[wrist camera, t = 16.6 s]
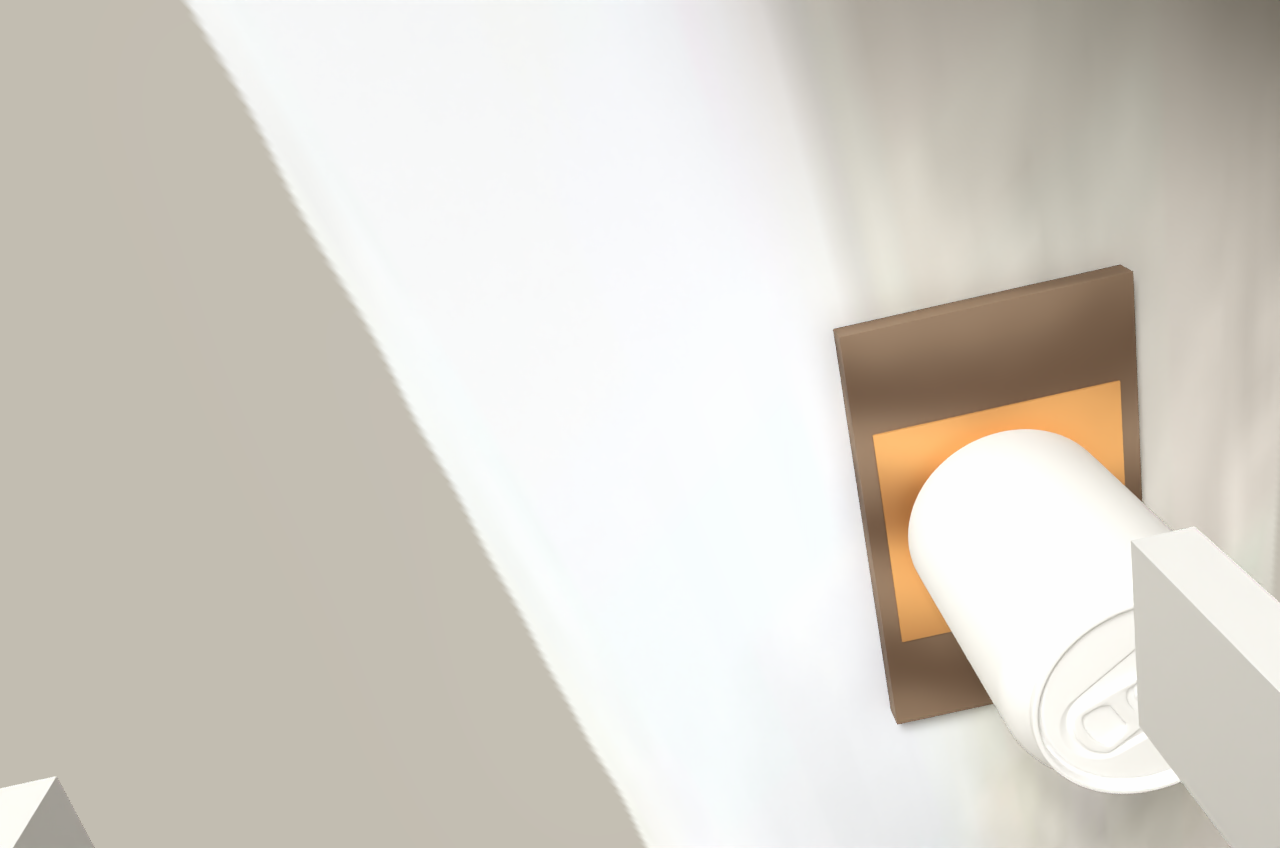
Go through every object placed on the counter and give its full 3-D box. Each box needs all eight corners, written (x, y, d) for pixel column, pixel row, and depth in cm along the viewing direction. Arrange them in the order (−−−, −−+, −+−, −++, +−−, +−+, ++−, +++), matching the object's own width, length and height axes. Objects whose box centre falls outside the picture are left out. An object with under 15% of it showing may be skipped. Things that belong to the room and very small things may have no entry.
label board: (833, 329, 42) (839, 338, 41) (1120, 264, 42) (1134, 272, 41) (890, 710, 49) (897, 725, 48) (1137, 656, 49) (1149, 671, 48)
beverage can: (1140, 519, 45) (1330, 702, 34) (977, 638, 47) (1106, 848, 36) (1031, 380, 42) (1198, 530, 31) (862, 511, 44) (964, 697, 33)
